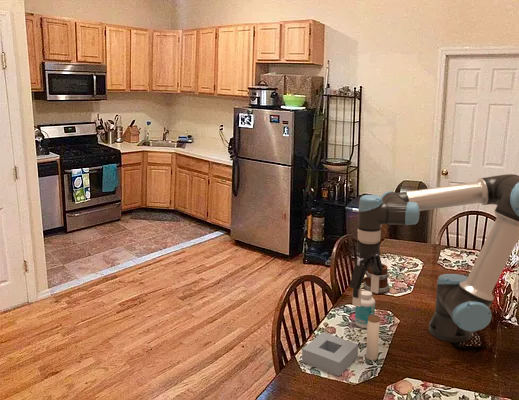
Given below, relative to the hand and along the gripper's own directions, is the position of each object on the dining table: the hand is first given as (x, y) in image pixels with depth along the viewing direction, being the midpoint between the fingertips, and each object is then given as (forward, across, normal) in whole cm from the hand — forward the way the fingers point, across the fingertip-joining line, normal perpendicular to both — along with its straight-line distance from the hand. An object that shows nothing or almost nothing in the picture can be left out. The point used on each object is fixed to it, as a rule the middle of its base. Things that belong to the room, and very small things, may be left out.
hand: (365, 298), depth 165 cm
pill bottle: (+20, -17, -8) cm, 27 cm away
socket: (+20, +13, -6) cm, 24 cm away
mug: (+20, -50, -20) cm, 57 cm away
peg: (+20, +2, +5) cm, 20 cm away
